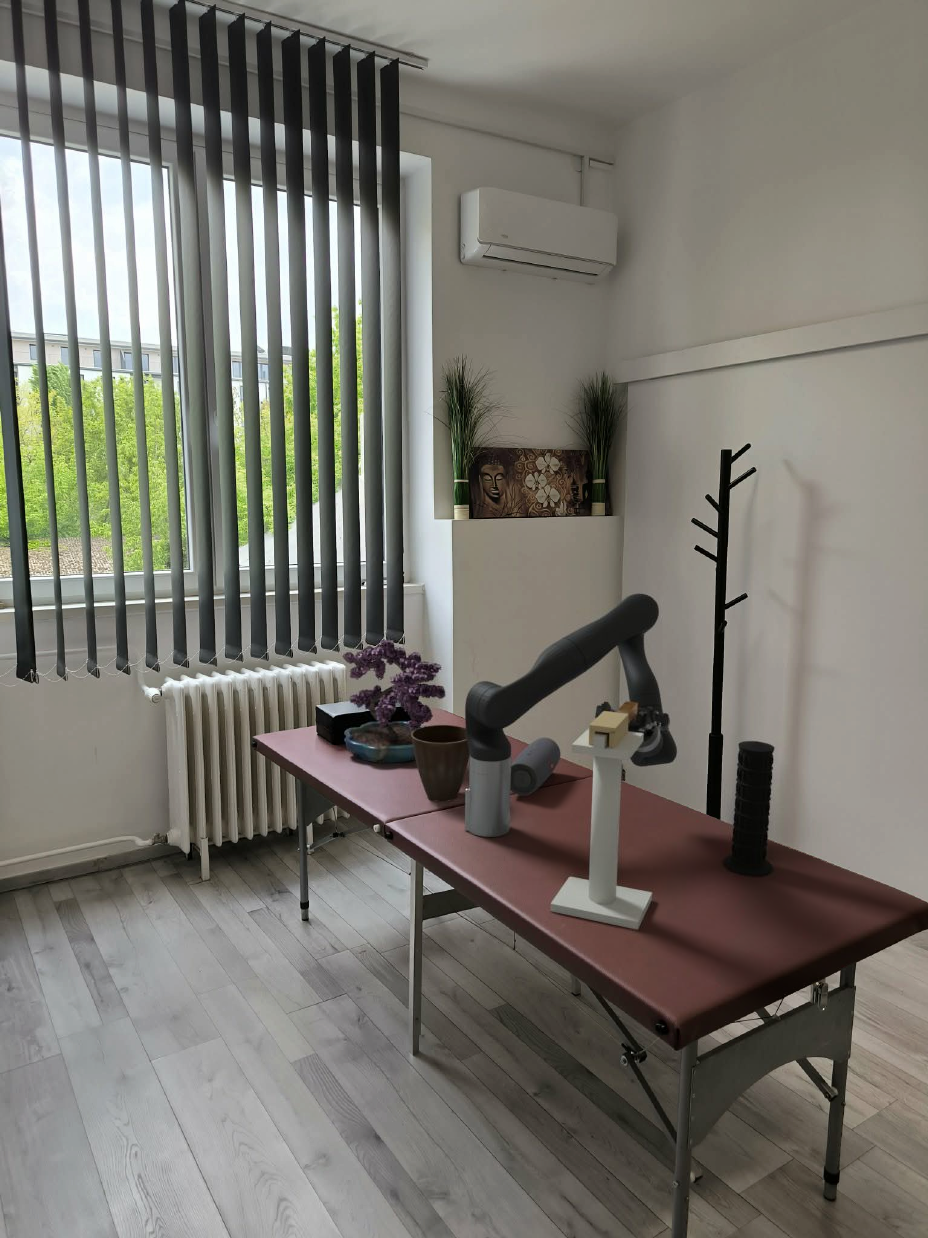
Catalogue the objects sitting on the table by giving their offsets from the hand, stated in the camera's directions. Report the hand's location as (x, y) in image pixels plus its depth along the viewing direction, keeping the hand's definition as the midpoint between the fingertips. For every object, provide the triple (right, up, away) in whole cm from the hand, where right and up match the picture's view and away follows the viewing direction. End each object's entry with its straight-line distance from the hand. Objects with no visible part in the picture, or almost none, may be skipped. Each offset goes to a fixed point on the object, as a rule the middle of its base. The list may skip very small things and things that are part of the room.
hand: (626, 708), depth 172 cm
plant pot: (-37, -26, +47) cm, 65 cm away
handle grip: (+27, -33, +11) cm, 44 cm away
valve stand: (-6, -36, -7) cm, 37 cm away
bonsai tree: (-51, -21, +78) cm, 95 cm away
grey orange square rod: (-3, -3, -7) cm, 8 cm away
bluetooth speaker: (-13, -25, +56) cm, 63 cm away
